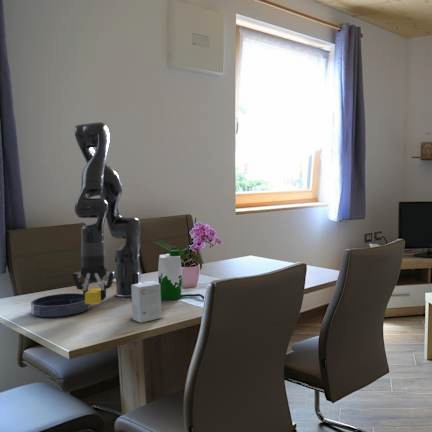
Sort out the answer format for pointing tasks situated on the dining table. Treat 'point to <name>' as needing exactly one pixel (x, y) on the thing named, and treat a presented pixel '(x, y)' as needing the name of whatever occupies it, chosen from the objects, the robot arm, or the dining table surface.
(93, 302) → the yellow block
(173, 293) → the milk carton
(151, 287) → the small box
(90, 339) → the dining table surface
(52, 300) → the bowl
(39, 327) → the dining table surface
